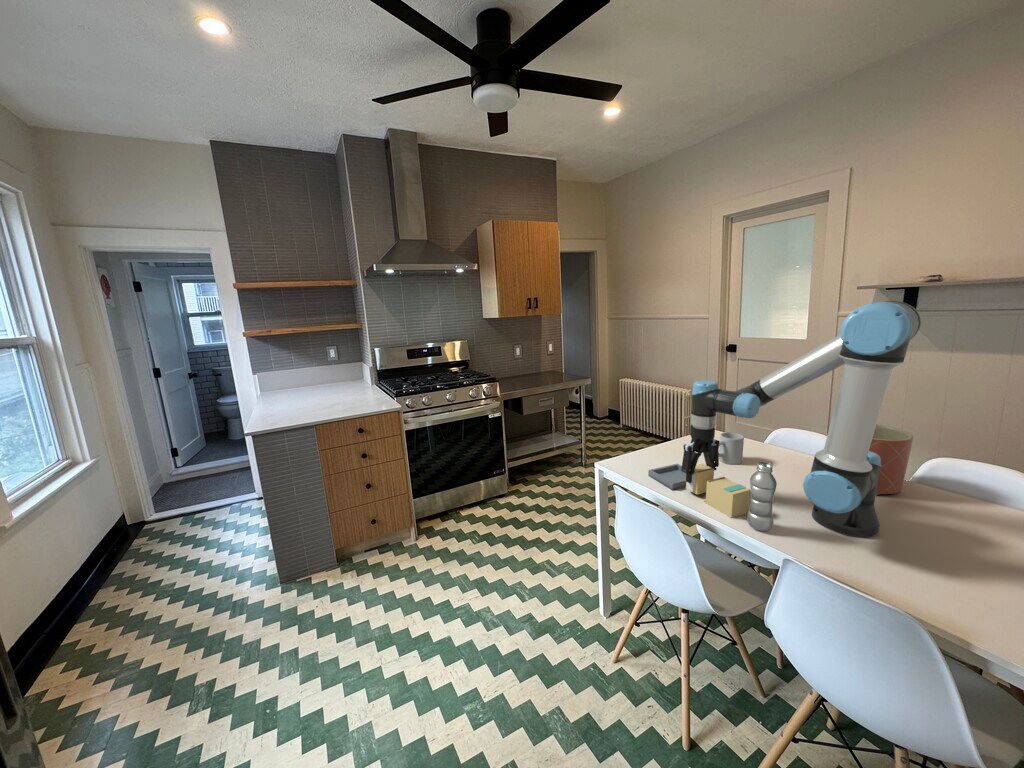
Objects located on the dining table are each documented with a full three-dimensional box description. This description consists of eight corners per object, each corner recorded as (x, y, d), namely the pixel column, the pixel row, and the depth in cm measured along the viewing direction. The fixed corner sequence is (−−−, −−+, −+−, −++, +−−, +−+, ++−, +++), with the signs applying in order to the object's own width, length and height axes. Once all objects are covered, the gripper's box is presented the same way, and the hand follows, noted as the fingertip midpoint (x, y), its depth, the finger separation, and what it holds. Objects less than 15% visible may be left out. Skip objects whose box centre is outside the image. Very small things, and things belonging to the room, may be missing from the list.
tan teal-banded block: (748, 512, 122) (750, 489, 120) (731, 517, 120) (733, 493, 118) (719, 497, 132) (721, 475, 130) (703, 502, 130) (705, 479, 128)
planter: (855, 469, 147) (862, 419, 143) (918, 492, 129) (928, 435, 125) (817, 477, 143) (823, 426, 139) (876, 502, 125) (886, 443, 120)
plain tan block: (712, 490, 134) (714, 468, 133) (696, 494, 132) (698, 472, 130) (701, 484, 139) (702, 463, 137) (685, 488, 137) (687, 466, 135)
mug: (730, 455, 166) (731, 431, 164) (747, 462, 158) (749, 437, 156) (707, 459, 163) (708, 435, 160) (723, 467, 155) (725, 441, 152)
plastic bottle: (760, 536, 110) (766, 470, 106) (741, 523, 117) (746, 461, 113) (778, 531, 112) (785, 467, 108) (758, 519, 118) (763, 458, 114)
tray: (702, 482, 143) (703, 476, 143) (672, 490, 139) (672, 483, 138) (677, 469, 155) (677, 463, 155) (648, 475, 151) (648, 470, 150)
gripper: (716, 418, 138) (712, 478, 142) (671, 427, 131) (668, 489, 136) (734, 424, 131) (729, 487, 135) (687, 433, 124) (684, 499, 129)
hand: (699, 488), depth 136 cm, fingers closed on plain tan block, 7 cm apart
